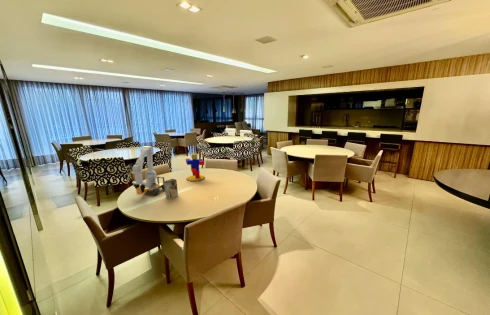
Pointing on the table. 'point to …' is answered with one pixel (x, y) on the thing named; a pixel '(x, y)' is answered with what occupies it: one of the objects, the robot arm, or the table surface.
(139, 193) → the block
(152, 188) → the wooden toy car
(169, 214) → the table surface
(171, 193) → the coffee box
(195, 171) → the figurine
